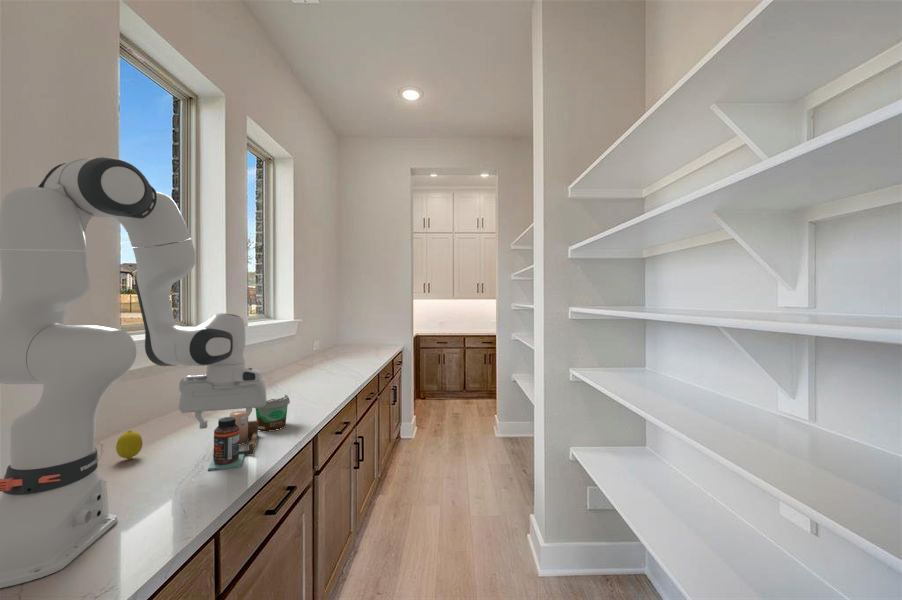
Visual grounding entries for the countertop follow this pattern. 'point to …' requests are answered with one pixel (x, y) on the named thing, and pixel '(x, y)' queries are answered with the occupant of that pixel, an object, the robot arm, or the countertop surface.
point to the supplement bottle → (226, 441)
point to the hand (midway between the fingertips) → (224, 426)
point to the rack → (251, 433)
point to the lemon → (129, 444)
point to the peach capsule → (242, 428)
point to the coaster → (233, 464)
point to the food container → (272, 414)
